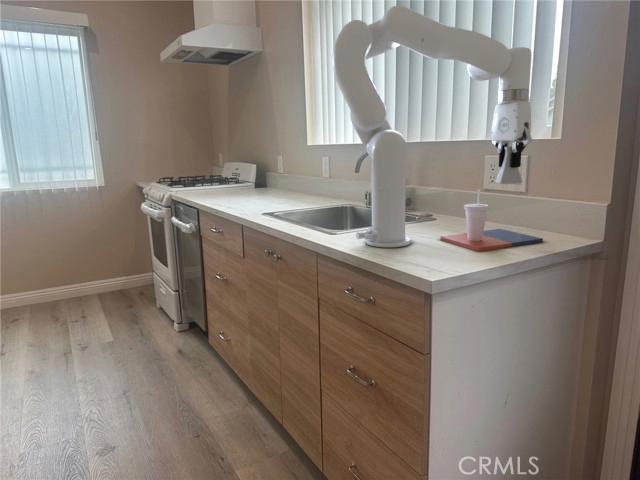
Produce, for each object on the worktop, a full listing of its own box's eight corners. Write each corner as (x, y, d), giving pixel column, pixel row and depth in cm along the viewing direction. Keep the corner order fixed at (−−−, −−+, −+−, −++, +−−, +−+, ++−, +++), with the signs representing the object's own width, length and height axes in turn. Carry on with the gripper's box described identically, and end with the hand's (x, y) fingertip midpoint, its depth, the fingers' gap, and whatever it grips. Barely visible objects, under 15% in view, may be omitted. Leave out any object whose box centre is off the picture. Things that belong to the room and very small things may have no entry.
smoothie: (484, 242, 116) (486, 190, 113) (460, 240, 120) (461, 190, 116) (489, 238, 121) (491, 188, 118) (465, 236, 125) (467, 187, 122)
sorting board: (478, 251, 111) (478, 247, 111) (440, 239, 126) (440, 236, 126) (542, 241, 119) (542, 238, 119) (499, 231, 134) (499, 228, 133)
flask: (525, 184, 117) (528, 146, 115) (497, 184, 118) (499, 147, 116) (519, 181, 124) (521, 146, 122) (492, 182, 125) (494, 146, 123)
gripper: (480, 101, 122) (477, 166, 126) (527, 94, 107) (522, 169, 111) (501, 101, 125) (498, 165, 129) (549, 94, 110) (544, 167, 114)
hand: (509, 166), depth 120 cm, fingers closed on flask, 3 cm apart
